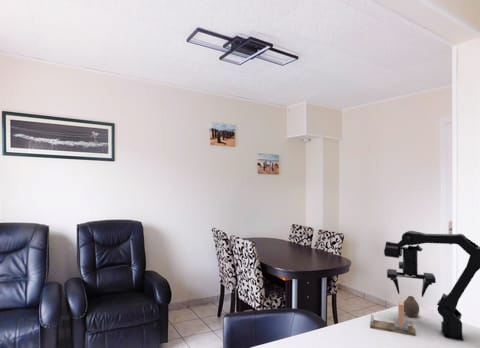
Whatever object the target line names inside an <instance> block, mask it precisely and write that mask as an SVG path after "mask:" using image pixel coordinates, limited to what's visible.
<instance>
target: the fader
mask: <svg viewBox="0 0 480 348" xmlns="http://www.w3.org/2000/svg"><path fill="white" fill-rule="evenodd" d="M397 304H398V307H397V308H398V309H397V310H398V311H397V313H398V315H397V317H398V318H397V320H394V322H393V323H395V329H400V330H406V331H408V326H409V325H408V322H405V313H404V301H401V300H400V301H399V300H398V302H397Z"/></svg>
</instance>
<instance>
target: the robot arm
mask: <svg viewBox="0 0 480 348" xmlns="http://www.w3.org/2000/svg"><path fill="white" fill-rule="evenodd" d="M422 244H443V245H444V244H446V245H458V246H459V247H460V248H461V249H462V250H463V251H464V252H465V253H467V254H468V255H469V258H468V261H467V264H466V266H465V267H464V270H463V271H462V272H461V275H459V278H458V279H457V281H456V282H455V284H454V285H453V287H452V288H451V290H450V292H448V294H445V293H443V294H442V295H441V297H440V299H439V300H438V301H437V304H436V306H437V309H436V310H437V313H438V314H439V315H440V316H441V317H442V321H441V322H440V323H441V326H440V328H441V333H442V334H443V337H444V338H448V339H454V340H459V341H464V337H463V322H462V321H461V319H462V313H461V312H460V311H459V310H458V308H457V306H458V303H459V300H460V298H461V297H462V296H463V294H464V292H465V291H466V289H467V287H468V285H469V284H470V283H471V281H472V279H473V278H474V276H475V275H476V273H477V272H478V271H479V270H480V246H479V245H478V244H477V243H475V242H474V241H472V240H471V239H469V238H468V237H466V236H465V234H462V233H456V234H455V233H454V234H452V233H424V232H422V231H421V232H419V231H415V230H407V231H405V232H403V234H402V235H401V239H400V241H399V242H392V241H386V242H385V246H384V248H383V254H384V257H387V258H394V259H400V257H402V261H398V269H399V270H402V272H401V271H397V269H393V268H391V269H390V268H388V269H387V270H386V278H388V279H390V281H393V284H394V286H395V289H396V292H397V294H398V295H400V287H399V279H398V277H399V278H408V279H409V278H410V279H417V280H422V287H421V298H424V296H425V294H426V291H427V289H428V287H429V286H432V285H433V284H436V283H437V281H436V276H435V274H434V273H433V272H432V273H430V272H423V274H420V273H418V252H423V250H424V249H423V248H422V247H421V246H420V245H422Z"/></svg>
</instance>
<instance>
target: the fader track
mask: <svg viewBox="0 0 480 348" xmlns="http://www.w3.org/2000/svg"><path fill="white" fill-rule="evenodd" d="M374 318H375V316H374V315H373V314H371V316H370V329H375V330H381V331H386V332H392V333H397V334H402V335H403V334H404V335H409V336H413V337H414V336H416V325H415V321H410V323H411V324H410V325H408V331H406V330H400V329H395V323H394V322H389V321H383V320H377V319H374Z"/></svg>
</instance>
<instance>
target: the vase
mask: <svg viewBox="0 0 480 348" xmlns="http://www.w3.org/2000/svg"><path fill="white" fill-rule="evenodd" d="M403 303H404V315H406V316H407V317H410V318H416V317H417V316H418V315H419V314H420V305H419V303H418V301H417V300H416V298H415V297H414V296H412V295H408V296H407V297H406V299H405V300H404V301H403Z"/></svg>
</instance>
